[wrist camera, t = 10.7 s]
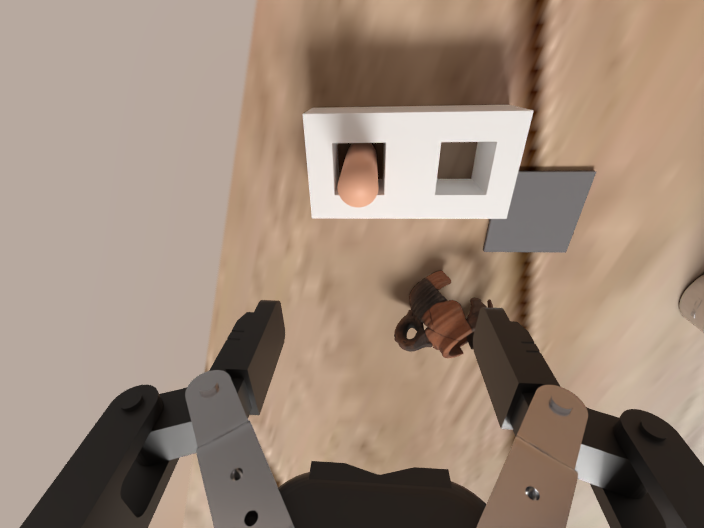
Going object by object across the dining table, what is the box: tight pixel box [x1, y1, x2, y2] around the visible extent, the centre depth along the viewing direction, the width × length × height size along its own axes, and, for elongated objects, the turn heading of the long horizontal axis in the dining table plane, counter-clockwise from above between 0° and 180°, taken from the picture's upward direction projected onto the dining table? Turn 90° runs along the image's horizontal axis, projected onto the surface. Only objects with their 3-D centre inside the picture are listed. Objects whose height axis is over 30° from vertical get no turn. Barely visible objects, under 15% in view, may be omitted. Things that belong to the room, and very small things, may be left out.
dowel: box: [338, 143, 378, 208], centre depth 28 cm, size 3×3×10 cm
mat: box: [483, 171, 596, 252], centre depth 34 cm, size 9×9×1 cm
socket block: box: [303, 105, 533, 219], centre depth 30 cm, size 18×9×5 cm, turn 91°
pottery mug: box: [394, 271, 493, 358], centre depth 39 cm, size 12×10×8 cm
